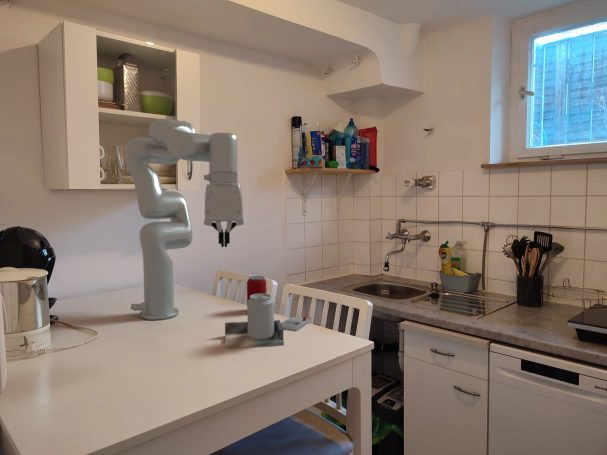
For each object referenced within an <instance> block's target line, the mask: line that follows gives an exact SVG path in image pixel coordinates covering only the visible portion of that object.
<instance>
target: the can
mask: <svg viewBox="0 0 607 455" xmlns="http://www.w3.org/2000/svg"><path fill="white" fill-rule="evenodd" d="M246 303H247V304H246V306H247V307H246V308H247V311H246V312H247V322H248V336H249V337H250V338H251V339H253V340H267V339H270V338H271V337H272V336H273V335H274V320H275V301H274V299H273V296H272V294H268V293H266V294H253V295H251V296H250V299H249V300H248V301H247V300H246Z"/></svg>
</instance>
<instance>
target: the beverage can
mask: <svg viewBox="0 0 607 455" xmlns="http://www.w3.org/2000/svg"><path fill="white" fill-rule="evenodd" d="M253 294H267V280H266V279H265V276H261V275H253V276H250V277H248V280H247V282H246V302H247V301H248V300H249V299H250V296H251V295H253Z"/></svg>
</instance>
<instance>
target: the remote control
mask: <svg viewBox="0 0 607 455" xmlns="http://www.w3.org/2000/svg"><path fill="white" fill-rule="evenodd" d="M311 319H312V317H309V318H307V317H306V316H303V317H300V316H291V317H289V318H288V319H286V320H284V321H282V322H281V325H282V327H283V331H284V330H285V331H290V332H291V331H292V332H298V331H300V330H301V329H303V328H304V327H306V326H307V325H309V324H310V321H311ZM306 324H307V325H306ZM305 325H306V326H305ZM302 327H303V328H302Z"/></svg>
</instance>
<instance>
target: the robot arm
mask: <svg viewBox="0 0 607 455" xmlns="http://www.w3.org/2000/svg"><path fill="white" fill-rule="evenodd" d="M148 134H149V137H134V138H132V139H129V141H128V142H127V144H126V145H125V151H124V157H125V158H124V160H125V163H126V166H127V168H128V169H127V170H128V171H129V173H130V176H131V177H132V180H133V184H134V189H135V195H136V199H137V205H138V210H139V213H140V215H141V216H142V218H144V219H147V220H164V219H165V220H166V219H170V221H153V222H148V223H145V224H144V225H143V226H142V227H141V228H140V230H139V236H138V238H139V243H140V247H141V252H142V264H143V265H142V266H143V268H142V269H143V299H144V300H143V302H141V303H131V304H130V309H131V310H133V311H140V312H139V317H140V318H141V319H143V320H149V321H150V320H152V321H155V320H158V321H159V320H166V319H171V318H174V317H176V316H178V315H179V312H180V311H179V309H178V308H176V307H175V306H174V305H175V303H174V301H175V300H174V295H175V294H174V292H175V291H174V262H173V260H172V258H171V256H170V255H169V254H168V252H167V251H168V250H169V251H170V250H176V249H177V250H178V249H183V248H188V247H190V245H191V243H192V242H193V228H192V224H191V219H190V214H189V209H188V204H187V201H186V199H185V197H184V195H183V194H182V193H180V192H178V191H170V190H169V191H168V190H167V191H165V190H163V186H162V184H161V183H162V182H161V178H160V176H159V175H158V173H157V172H156V170H154V169H153V168H152V167H151V166H150V165H149V164H151V165H152V164H153V165H175V164H176V163H178V162H180V160H183V161H187V162H205V163H209V164H208V165H209V166H208V169H209V170H208V171H209V173H208V174H204V175H203V180H204V181H207V182H208V183H209V184H206V186H205V193H204V194H205V195H204V221H203V225H205V226H209V227H213V229H214V230H216V231H217V233H218V245H220V246H221V248H223V247H225V248H227V247H228V245H229V244H230V243H231V239H230V237H231V235H230V233H231V232H232V230H233V229H234V228H235V227H237V226H238V227H239V226H242V225H244V224H245V222H244V218H243V217H244V214H243V213H244V211H243V210H244V208H243V206H244V205H243V193H242V186H241V184H238V180H239V179H238V137H237V135H235V134H234V133H231V132H213V133H212V134H205V133H204V134H203V133H196V129H195V127H194V126H193V125H192V123H190V122H189V121H185V120H180V119H179V120H177V119H170V118H159V119H155V120H154V121H153V122H151V123H150V125H149V126H148ZM222 222H226V228H225V229H223V228H222Z"/></svg>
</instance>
